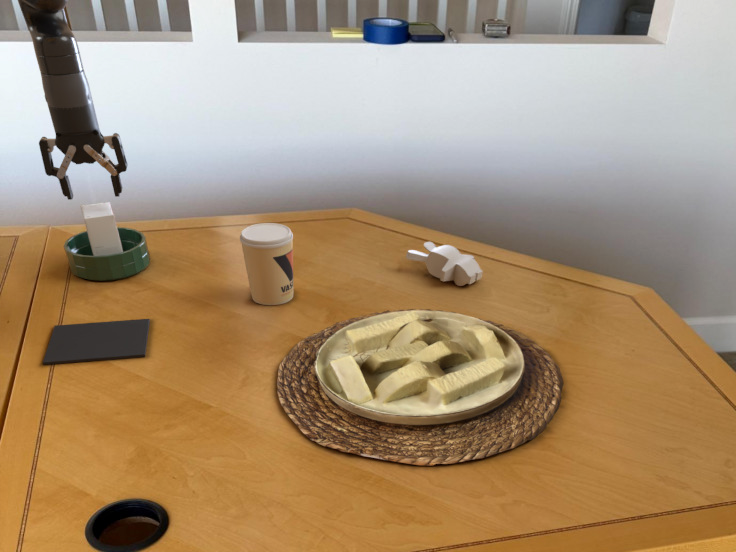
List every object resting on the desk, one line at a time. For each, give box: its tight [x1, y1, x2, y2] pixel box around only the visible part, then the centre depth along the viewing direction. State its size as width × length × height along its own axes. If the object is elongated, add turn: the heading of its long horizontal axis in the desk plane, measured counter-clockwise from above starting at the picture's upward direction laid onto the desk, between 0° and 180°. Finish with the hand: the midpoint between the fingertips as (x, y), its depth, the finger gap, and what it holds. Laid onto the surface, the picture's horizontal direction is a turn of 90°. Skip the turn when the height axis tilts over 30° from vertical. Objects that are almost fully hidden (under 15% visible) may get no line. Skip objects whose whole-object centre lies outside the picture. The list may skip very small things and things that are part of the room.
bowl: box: [63, 226, 151, 282], centre depth 152 cm, size 15×15×5 cm
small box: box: [80, 201, 123, 256], centre depth 150 cm, size 8×6×10 cm
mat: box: [42, 318, 151, 366], centre depth 130 cm, size 16×13×1 cm
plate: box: [276, 308, 564, 467], centre depth 120 cm, size 45×45×7 cm
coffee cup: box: [239, 222, 294, 306], centre depth 140 cm, size 9×9×12 cm
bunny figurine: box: [405, 241, 484, 287], centre depth 150 cm, size 10×5×15 cm
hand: (94, 196), depth 145 cm, fingers open, 8 cm apart
